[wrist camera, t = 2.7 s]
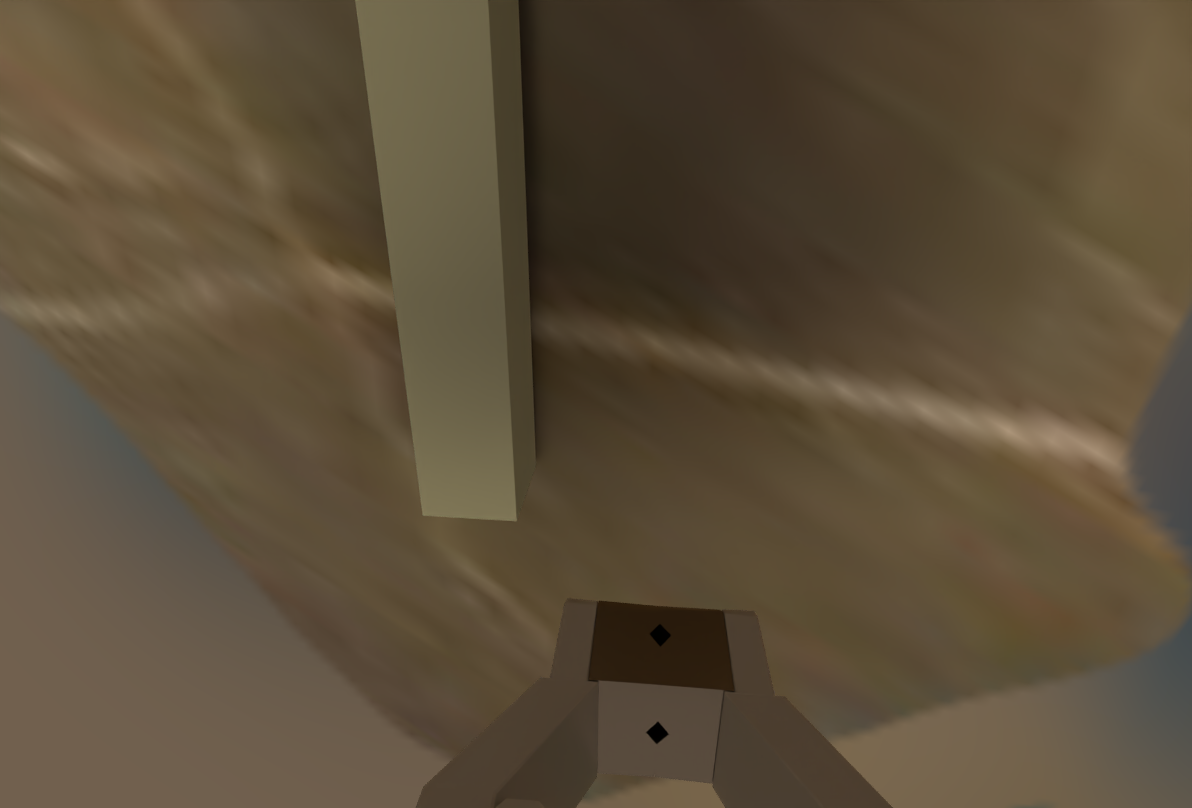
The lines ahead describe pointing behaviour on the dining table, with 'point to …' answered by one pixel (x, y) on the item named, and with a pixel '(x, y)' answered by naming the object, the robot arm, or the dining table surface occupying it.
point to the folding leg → (456, 242)
